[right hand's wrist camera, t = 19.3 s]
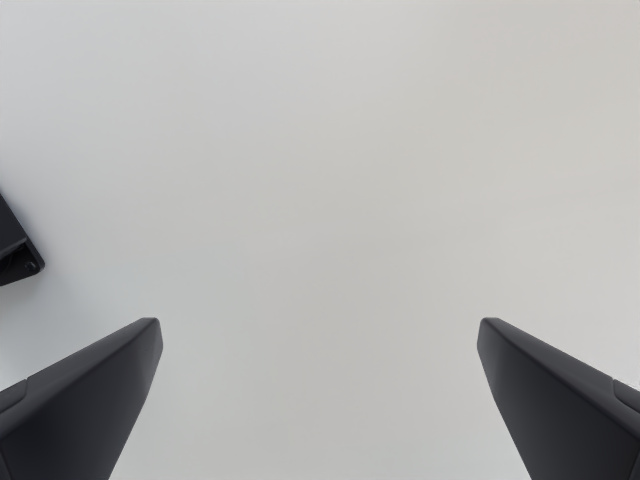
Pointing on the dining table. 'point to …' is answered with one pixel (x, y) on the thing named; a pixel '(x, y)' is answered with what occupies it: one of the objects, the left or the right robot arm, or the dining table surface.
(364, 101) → the dining table surface
